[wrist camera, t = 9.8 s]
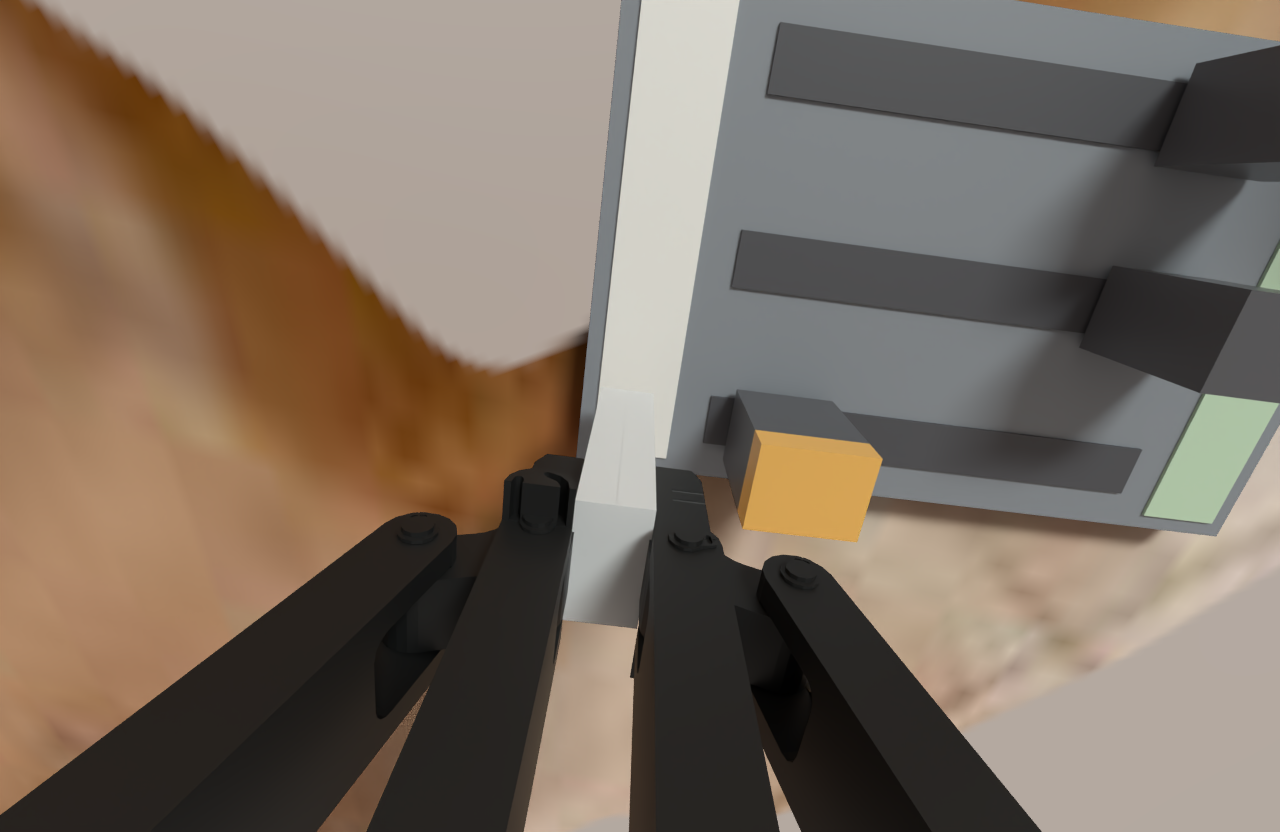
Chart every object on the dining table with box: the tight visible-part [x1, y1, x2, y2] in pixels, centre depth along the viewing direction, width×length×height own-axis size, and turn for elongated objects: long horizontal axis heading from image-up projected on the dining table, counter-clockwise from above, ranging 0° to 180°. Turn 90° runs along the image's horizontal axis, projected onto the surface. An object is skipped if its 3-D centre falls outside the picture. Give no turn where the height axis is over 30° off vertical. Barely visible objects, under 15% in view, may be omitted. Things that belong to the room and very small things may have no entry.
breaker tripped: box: [723, 389, 883, 542], centre depth 17 cm, size 3×2×4 cm
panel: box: [576, 0, 1280, 536], centre depth 18 cm, size 22×14×2 cm, turn 83°
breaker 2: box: [1079, 266, 1280, 403], centre depth 15 cm, size 3×2×4 cm
